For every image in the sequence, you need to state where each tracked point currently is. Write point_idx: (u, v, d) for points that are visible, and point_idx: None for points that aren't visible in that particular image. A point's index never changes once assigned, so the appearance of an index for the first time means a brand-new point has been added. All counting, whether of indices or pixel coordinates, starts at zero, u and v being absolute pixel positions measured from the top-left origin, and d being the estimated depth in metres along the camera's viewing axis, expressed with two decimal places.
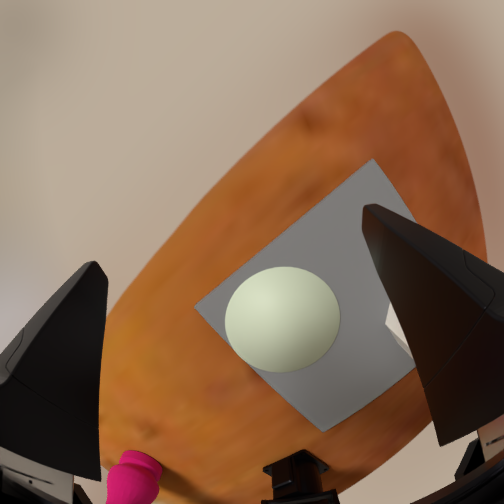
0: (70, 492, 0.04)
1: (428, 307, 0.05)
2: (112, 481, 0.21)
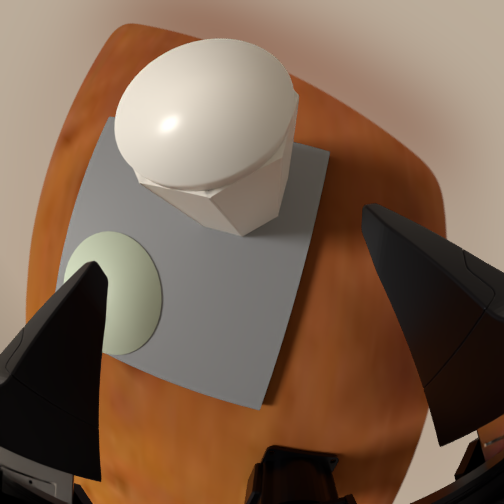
0: (70, 492, 0.04)
1: (428, 307, 0.05)
2: None
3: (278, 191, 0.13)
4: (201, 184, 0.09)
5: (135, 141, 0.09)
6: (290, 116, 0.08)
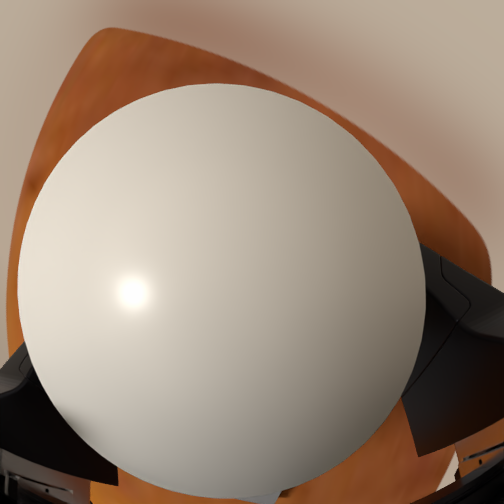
0: (87, 498, 0.04)
1: None
2: None
3: None
4: (213, 492, 0.03)
5: (66, 388, 0.03)
6: (406, 377, 0.03)
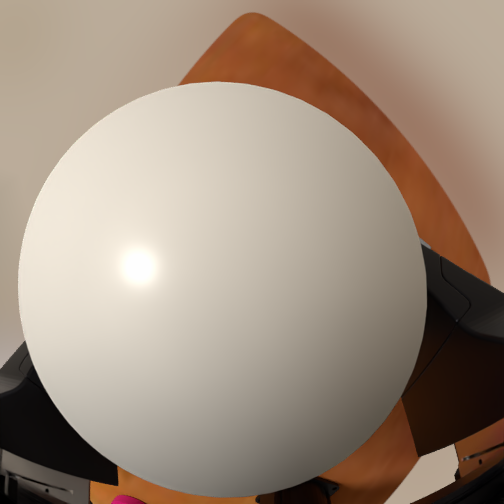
0: (87, 498, 0.04)
1: None
2: None
3: None
4: (214, 491, 0.03)
5: (66, 386, 0.03)
6: (407, 375, 0.03)
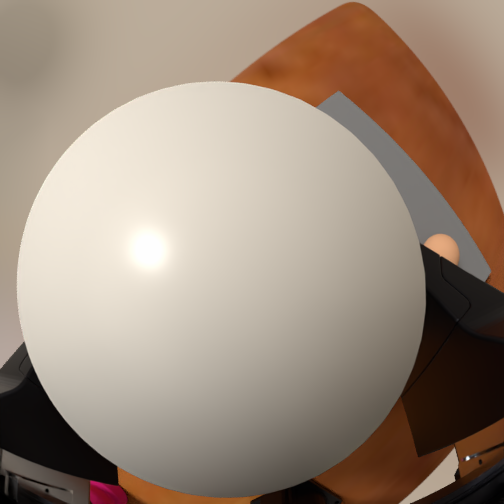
0: (87, 498, 0.04)
1: None
2: None
3: None
4: (212, 491, 0.03)
5: (64, 386, 0.03)
6: (406, 375, 0.03)
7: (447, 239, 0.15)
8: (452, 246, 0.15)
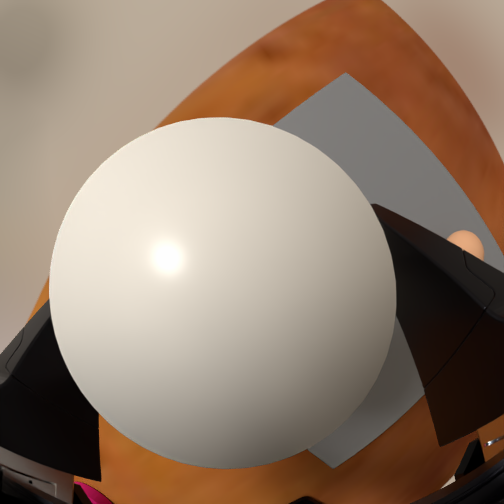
0: (70, 492, 0.04)
1: (428, 307, 0.05)
2: None
3: None
4: (221, 464, 0.04)
5: (94, 376, 0.04)
6: (381, 362, 0.04)
7: (471, 236, 0.12)
8: (477, 244, 0.12)
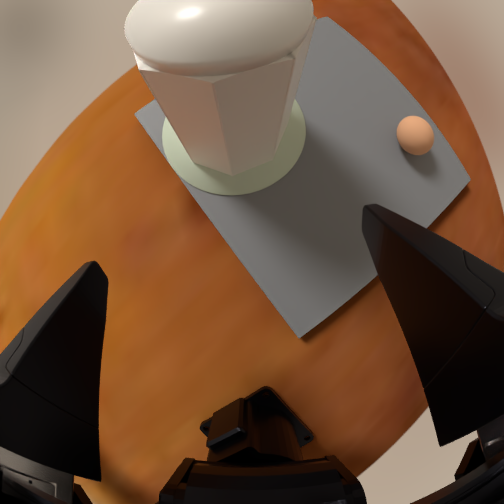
0: (70, 492, 0.04)
1: (428, 307, 0.05)
2: None
3: (281, 114, 0.11)
4: (207, 64, 0.07)
5: (144, 29, 0.06)
6: (308, 24, 0.07)
7: (420, 117, 0.15)
8: (425, 122, 0.15)
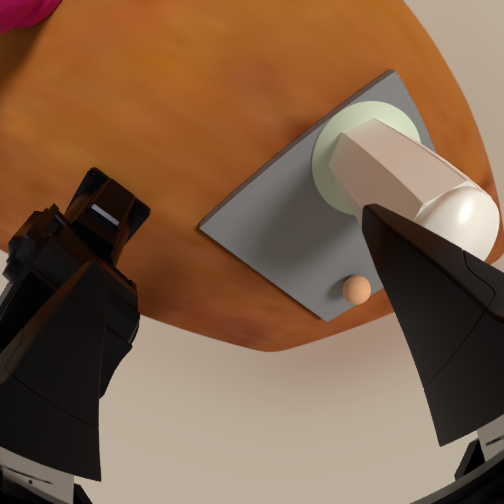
0: (70, 492, 0.04)
1: (428, 307, 0.05)
2: None
3: None
4: None
5: (453, 216, 0.09)
6: None
7: (368, 296, 0.26)
8: (365, 300, 0.26)
